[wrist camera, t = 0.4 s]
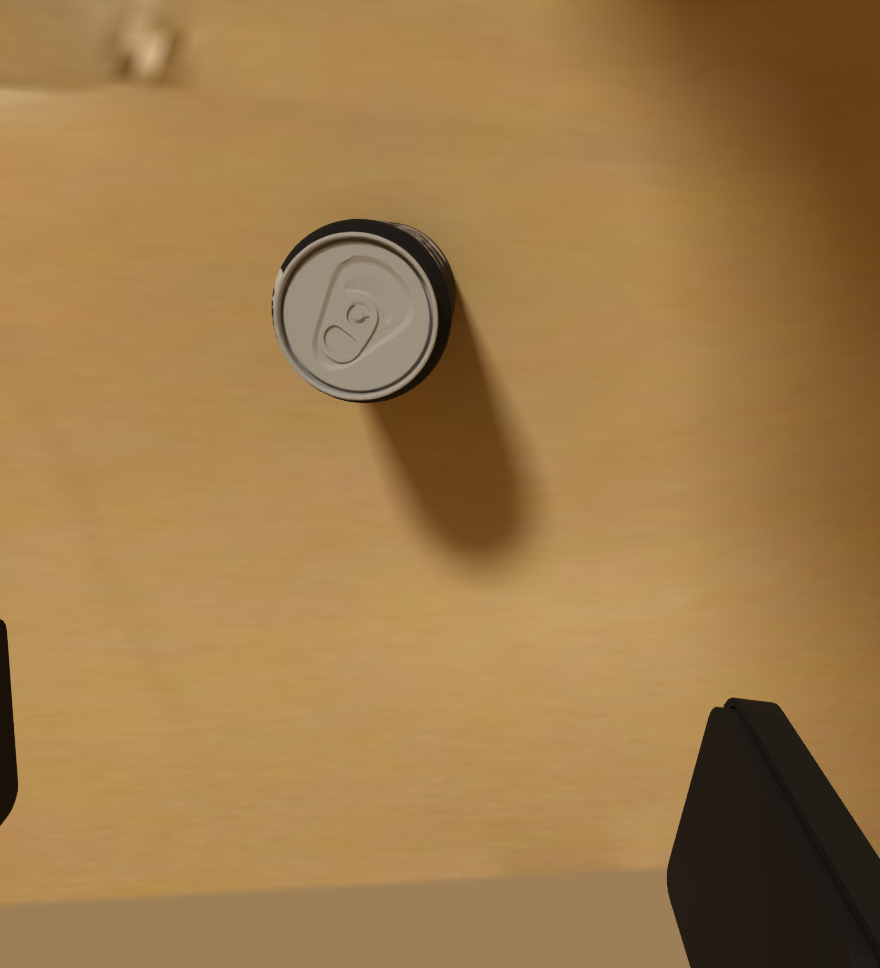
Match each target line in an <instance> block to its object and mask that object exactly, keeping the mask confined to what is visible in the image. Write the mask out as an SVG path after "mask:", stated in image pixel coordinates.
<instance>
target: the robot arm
mask: <svg viewBox="0 0 880 968" xmlns="http://www.w3.org/2000/svg"><path fill="white" fill-rule="evenodd" d="M17 792H18V776H17V763H16V749H15V735H14V722H13V708H12V694H11V681H10V667H9V653H8V640H7V629H6V625H5V623H4V621H3V620H1V619H0V825H1V824H2V823H3V822H4V820H5V819H6V818H7V816H8V815H9V813H10V812H11V810H12V808H13V805H14V803H15V800H16V797H17ZM667 887H668V894H669V898H670V901H671V905H672V908H673V911H674V915H675V918H676V921H677V925H678V928H679V931H680V934H681V937H682V941H683V944H684V947H685V951H686V954H687V958H688V961H689V964H690V967H691V968H880V858H879V857H878V855H877V854H876V852H875V851H874V849H873V848H872V846H871V845H870V843H869V842H868V840H867V839H866V837H865V836H864V834H863V833H862V831H861V830H860V828H859V826H858V825H857V823H856V822H855V820H854V819H853V817H852V816H851V814H850V813H849V811H848V810H847V808H846V807H845V805H844V804H843V802H842V801H841V799H840V798H839V796H838V795H837V793H836V791H835V790H834V788H833V787H832V785H831V784H830V782H829V781H828V779H827V778H826V776H825V775H824V773H823V772H822V770H821V769H820V767H819V766H818V764H817V763H816V761H815V760H814V758H813V756H812V755H811V753H810V752H809V750H808V749H807V747H806V746H805V744H804V743H803V741H802V740H801V738H800V737H799V735H798V734H797V732H796V731H795V729H794V728H793V726H792V725H791V723H790V721H789V720H788V718H787V717H786V715H785V714H784V712H783V711H782V709H781V708H780V707H779V706H778V705H777V704H775V703H772V702H764V701H756V700H748V699H740V698H730V699H728V700H727V702H726V703H725V704H724V707H723V708H722V707H715V708H713V709H712V711H711V712H710V715H709V718H708V722H707V725H706V729H705V732H704V736H703V740H702V743H701V747H700V751H699V754H698V758H697V761H696V765H695V769H694V772H693V776H692V780H691V783H690V787H689V791H688V794H687V798H686V801H685V805H684V809H683V812H682V816H681V820H680V823H679V827H678V831H677V834H676V838H675V841H674V845H673V849H672V852H671V856H670V860H669V863H668V869H667Z"/></svg>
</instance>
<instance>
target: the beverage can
mask: <svg viewBox="0 0 880 968" xmlns="http://www.w3.org/2000/svg"><path fill="white" fill-rule="evenodd" d="M454 306H455V282H454V277H453V273H452V270H451V267H450V265H449V263H448V261H447V259H446V257H445V255H444V254H443V252H442V251H441V250H440V248H439V247H438V246H437V245H436V244H435V243H434V242H433V241H432V240H431V239H430V238H429V237H427V236H426V235H425V234H423V233H422V232H420V231H418V230H416V229H414V228H412V227H410V226H407V225H403V224H399V223H392V222H384V221H376V220H367V219H350V220H343V221H338V222H334V223H331V224H328V225H326V226H323V227H321V228H319V229H317V230H315V231H314V232H312V233H311V234H309V235H308V236H306V237H305V238H304V239H303V240H302V241H300V242H299V243H298V244H297V245H296V246H295V247H294V249H293V250H292V251H291V252H290V254H289V255H288V256H287V258H286V259H285V261H284V263H283V265H282V266H281V268H280V271H279V273H278V276H277V279H276V282H275V286H274V290H273V296H272V319H273V325H274V330H275V334H276V337H277V340H278V343H279V345H280V347H281V350H282V352H283V354H284V355H285V357H286V359H287V361H288V362H289V363H290V365H291V366H292V368H293V369H294V370H295V371H296V372H297V373H298V374H299V375H300V376H301V377H302V378H303V379H304V380H305V381H306V382H308V383H309V384H310V385H311V386H313V387H314V388H316V389H317V390H319V391H321V392H323V393H325V394H327V395H329V396H332V397H334V398H337V399H340V400H344V401H349V402H356V403H374V402H381V401H386V400H389V399H393V398H396V397H398V396H400V395H402V394H404V393H406V392H408V391H410V390H411V389H413V388H414V387H416V386H417V385H418V384H419V383H421V382H422V381H423V380H424V379H425V378H426V377H427V376H428V375H429V374H430V373H431V371H432V370H433V369H434V368H435V366H436V365H437V363H438V361H439V360H440V358H441V356H442V354H443V352H444V350H445V347H446V344H447V341H448V338H449V334H450V328H451V322H452V317H453V311H454Z"/></svg>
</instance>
